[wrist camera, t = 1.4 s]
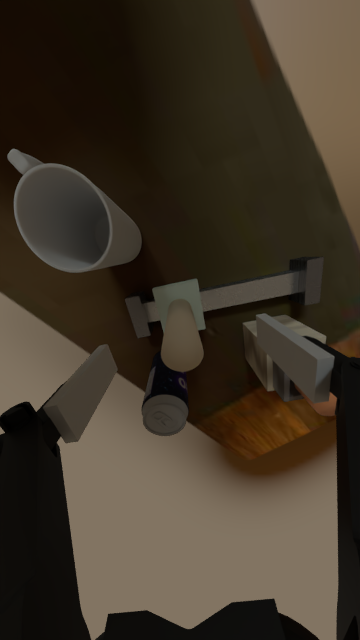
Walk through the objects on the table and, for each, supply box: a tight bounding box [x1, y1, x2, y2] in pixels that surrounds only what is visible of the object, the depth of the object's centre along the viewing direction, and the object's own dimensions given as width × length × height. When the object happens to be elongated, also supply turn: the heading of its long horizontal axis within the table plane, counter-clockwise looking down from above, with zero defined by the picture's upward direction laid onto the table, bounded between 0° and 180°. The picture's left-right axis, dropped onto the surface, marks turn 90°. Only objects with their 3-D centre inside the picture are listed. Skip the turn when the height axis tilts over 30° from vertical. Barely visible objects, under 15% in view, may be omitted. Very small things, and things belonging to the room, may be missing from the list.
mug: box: [7, 149, 142, 273], centre depth 17 cm, size 10×7×12 cm, turn 36°
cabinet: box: [243, 315, 326, 402], centre depth 24 cm, size 7×7×10 cm
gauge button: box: [294, 383, 337, 416], centre depth 17 cm, size 4×4×3 cm
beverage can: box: [142, 351, 189, 436], centre depth 24 cm, size 6×6×12 cm
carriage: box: [152, 279, 206, 372], centre depth 19 cm, size 7×6×14 cm
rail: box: [125, 257, 324, 338], centre depth 24 cm, size 6×26×4 cm, turn 102°
